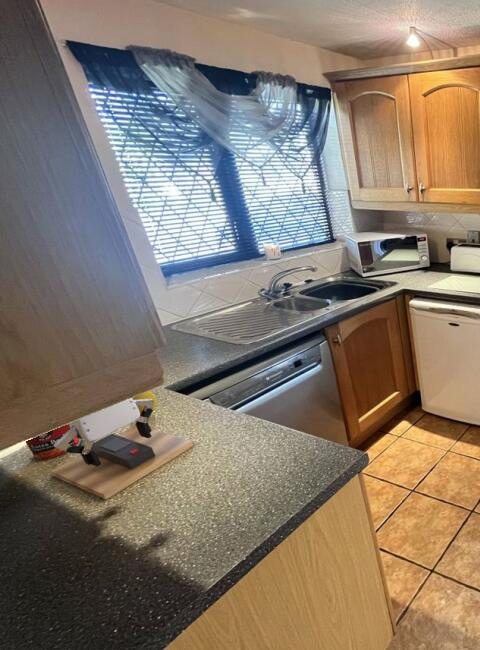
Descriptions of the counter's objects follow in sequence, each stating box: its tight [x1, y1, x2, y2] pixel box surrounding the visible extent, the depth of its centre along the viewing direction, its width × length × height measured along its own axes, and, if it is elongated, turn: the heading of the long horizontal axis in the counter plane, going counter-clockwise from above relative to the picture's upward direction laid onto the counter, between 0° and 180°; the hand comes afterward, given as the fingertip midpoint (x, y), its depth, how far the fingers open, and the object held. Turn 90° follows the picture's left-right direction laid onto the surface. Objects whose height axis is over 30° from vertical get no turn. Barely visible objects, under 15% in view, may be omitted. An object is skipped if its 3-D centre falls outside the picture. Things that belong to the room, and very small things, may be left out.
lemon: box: [132, 390, 158, 414], centre depth 105 cm, size 6×6×8 cm
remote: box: [91, 433, 155, 470], centre depth 89 cm, size 15×5×3 cm, turn 70°
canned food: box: [25, 424, 80, 460], centre depth 92 cm, size 8×8×11 cm
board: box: [49, 426, 194, 500], centre depth 90 cm, size 20×17×2 cm
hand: (122, 449), depth 89 cm, fingers open, 9 cm apart
